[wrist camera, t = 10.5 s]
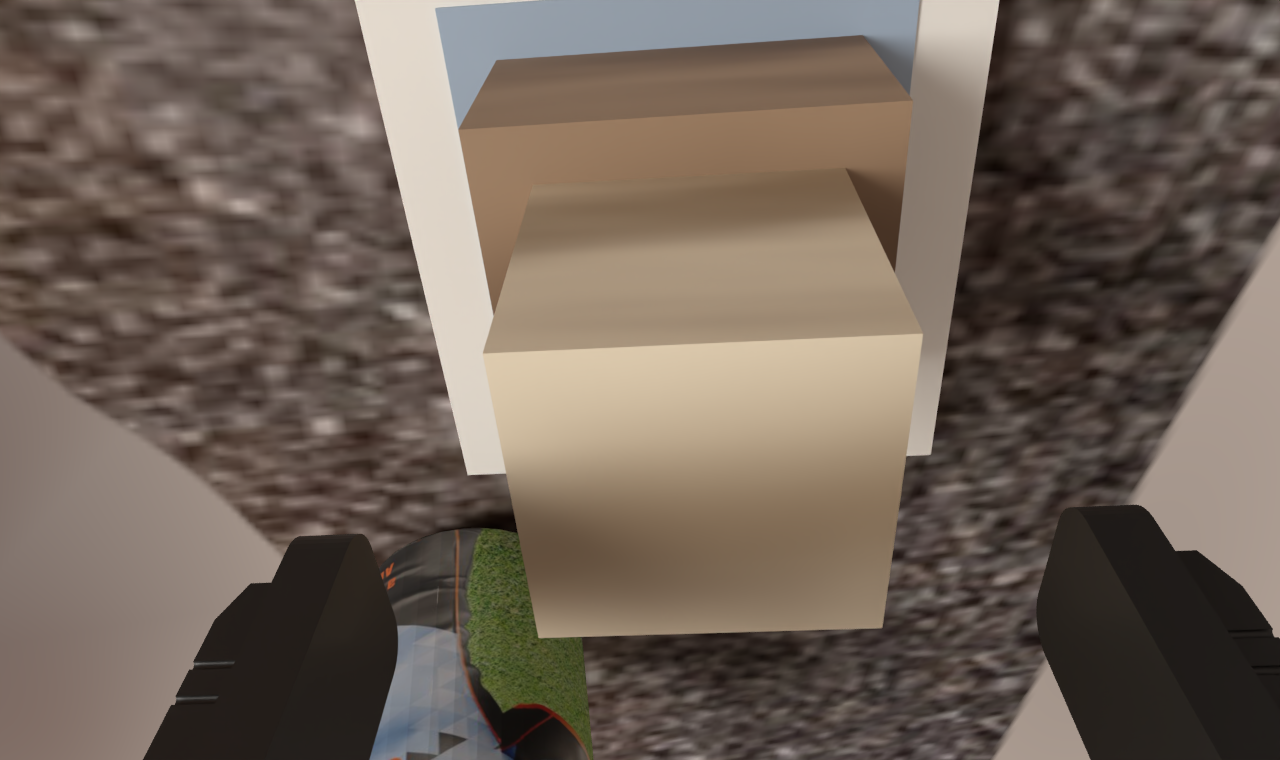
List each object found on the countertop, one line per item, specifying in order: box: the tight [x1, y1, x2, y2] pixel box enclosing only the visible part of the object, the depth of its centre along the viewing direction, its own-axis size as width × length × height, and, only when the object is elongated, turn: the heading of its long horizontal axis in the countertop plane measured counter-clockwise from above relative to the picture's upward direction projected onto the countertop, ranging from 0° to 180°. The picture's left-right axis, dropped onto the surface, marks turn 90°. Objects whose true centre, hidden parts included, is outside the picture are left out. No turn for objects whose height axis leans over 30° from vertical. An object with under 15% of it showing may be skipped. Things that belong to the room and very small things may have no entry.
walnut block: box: [458, 35, 913, 316], centre depth 17 cm, size 7×7×4 cm
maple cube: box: [483, 168, 923, 638], centre depth 13 cm, size 5×5×5 cm
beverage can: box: [369, 528, 593, 760], centre depth 22 cm, size 6×7×12 cm
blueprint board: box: [355, 0, 999, 475], centre depth 19 cm, size 16×12×1 cm
